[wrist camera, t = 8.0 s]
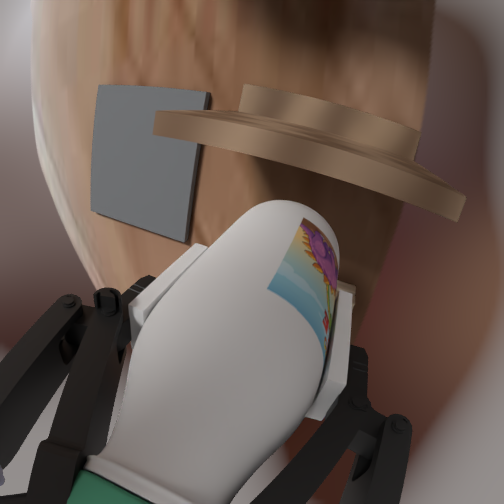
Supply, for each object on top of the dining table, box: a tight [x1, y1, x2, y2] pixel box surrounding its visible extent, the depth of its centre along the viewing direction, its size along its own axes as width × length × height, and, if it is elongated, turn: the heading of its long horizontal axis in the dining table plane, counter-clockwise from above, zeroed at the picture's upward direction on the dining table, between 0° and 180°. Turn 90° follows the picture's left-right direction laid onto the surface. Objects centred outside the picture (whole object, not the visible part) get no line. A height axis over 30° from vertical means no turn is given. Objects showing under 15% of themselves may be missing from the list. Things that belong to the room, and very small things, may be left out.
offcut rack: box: [152, 84, 466, 310], centre depth 26 cm, size 18×26×16 cm
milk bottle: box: [67, 200, 339, 504], centre depth 13 cm, size 8×8×20 cm
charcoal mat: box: [91, 85, 210, 242], centre depth 35 cm, size 16×18×1 cm
